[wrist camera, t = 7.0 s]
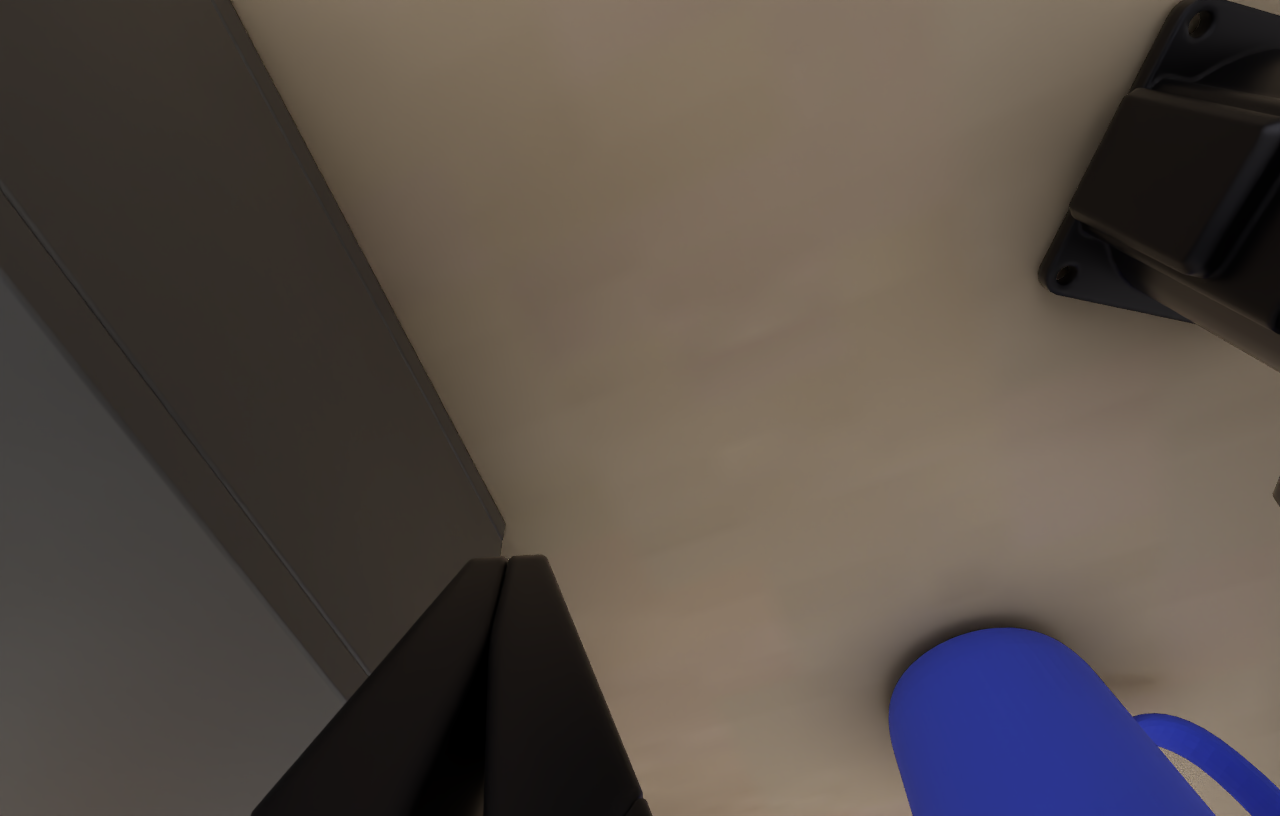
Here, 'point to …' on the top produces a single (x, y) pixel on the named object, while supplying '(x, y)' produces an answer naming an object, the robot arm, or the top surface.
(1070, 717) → the mug
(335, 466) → the dark grey lidded case
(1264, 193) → the robot arm
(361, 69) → the top surface
